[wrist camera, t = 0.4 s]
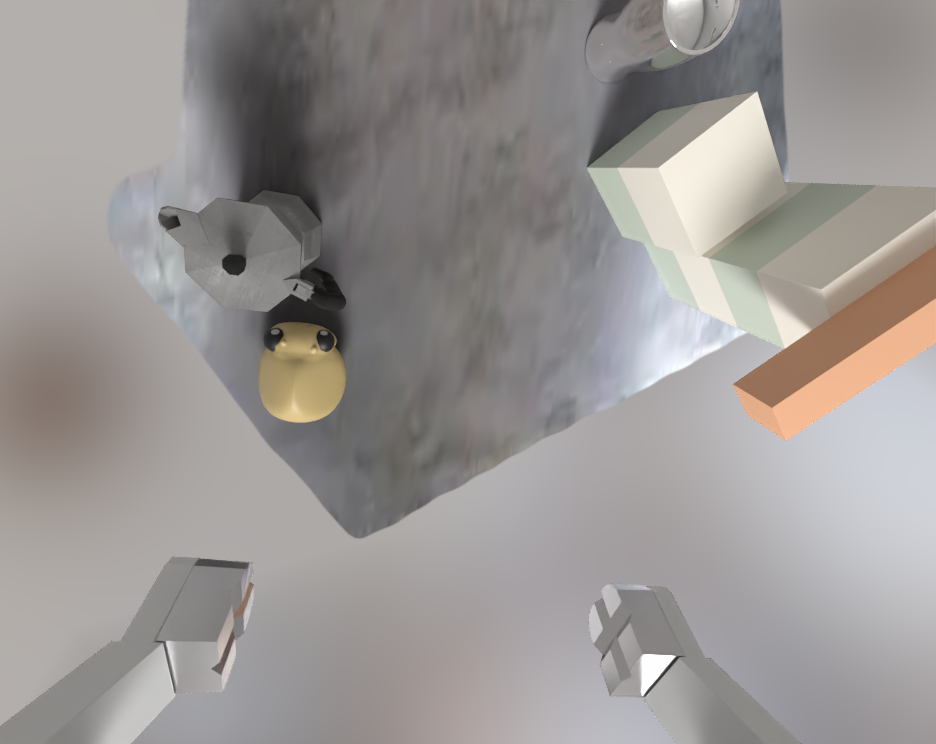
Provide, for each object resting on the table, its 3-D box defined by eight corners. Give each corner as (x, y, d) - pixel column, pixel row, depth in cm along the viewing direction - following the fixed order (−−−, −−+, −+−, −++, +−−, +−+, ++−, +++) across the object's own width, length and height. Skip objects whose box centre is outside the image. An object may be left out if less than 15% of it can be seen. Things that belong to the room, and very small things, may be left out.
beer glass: (613, -8, 45) (712, -83, 31) (653, 46, 47) (759, -1, 34) (567, 54, 46) (643, 8, 33) (609, 103, 49) (694, 79, 36)
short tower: (622, 236, 56) (697, 258, 43) (586, 167, 52) (658, 167, 38) (688, 186, 55) (787, 192, 41) (657, 111, 50) (757, 91, 37)
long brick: (747, 415, 38) (785, 440, 34) (732, 384, 36) (771, 408, 32) (961, 271, 35) (1027, 282, 32) (957, 230, 33) (1026, 238, 30)
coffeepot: (204, 238, 48) (114, 274, 32) (238, 158, 45) (159, 153, 29) (335, 306, 53) (315, 366, 37) (372, 239, 51) (367, 272, 35)
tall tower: (670, 297, 61) (846, 377, 38) (641, 239, 57) (821, 289, 33) (744, 243, 60) (975, 292, 36) (720, 179, 55) (966, 188, 32)
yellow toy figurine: (352, 312, 54) (346, 343, 44) (346, 397, 59) (339, 441, 49) (267, 303, 52) (241, 334, 42) (268, 392, 56) (245, 437, 47)
